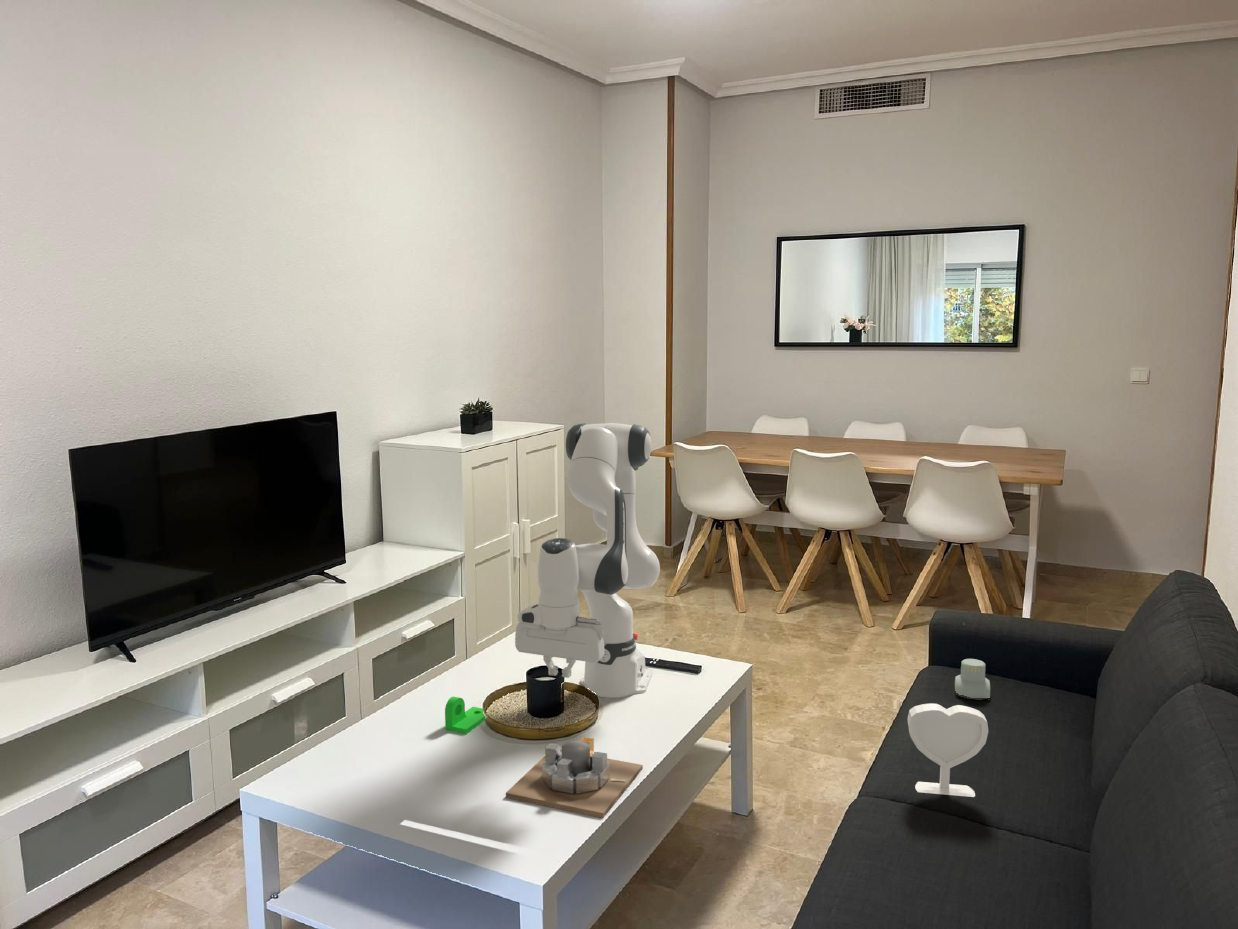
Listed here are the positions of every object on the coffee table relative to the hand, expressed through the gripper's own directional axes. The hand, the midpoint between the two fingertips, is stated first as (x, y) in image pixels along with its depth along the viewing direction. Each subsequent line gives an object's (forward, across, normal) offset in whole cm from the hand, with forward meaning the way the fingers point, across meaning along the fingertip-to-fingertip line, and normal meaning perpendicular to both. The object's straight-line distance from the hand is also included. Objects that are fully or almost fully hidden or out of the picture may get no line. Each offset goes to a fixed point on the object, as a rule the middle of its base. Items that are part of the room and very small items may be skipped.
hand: (559, 675), depth 202 cm
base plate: (+21, -6, +6) cm, 23 cm away
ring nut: (+20, -6, +6) cm, 21 cm away
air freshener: (+22, -83, -73) cm, 113 cm away
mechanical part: (+22, +31, -12) cm, 39 cm away
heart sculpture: (+21, -79, -20) cm, 85 cm away
